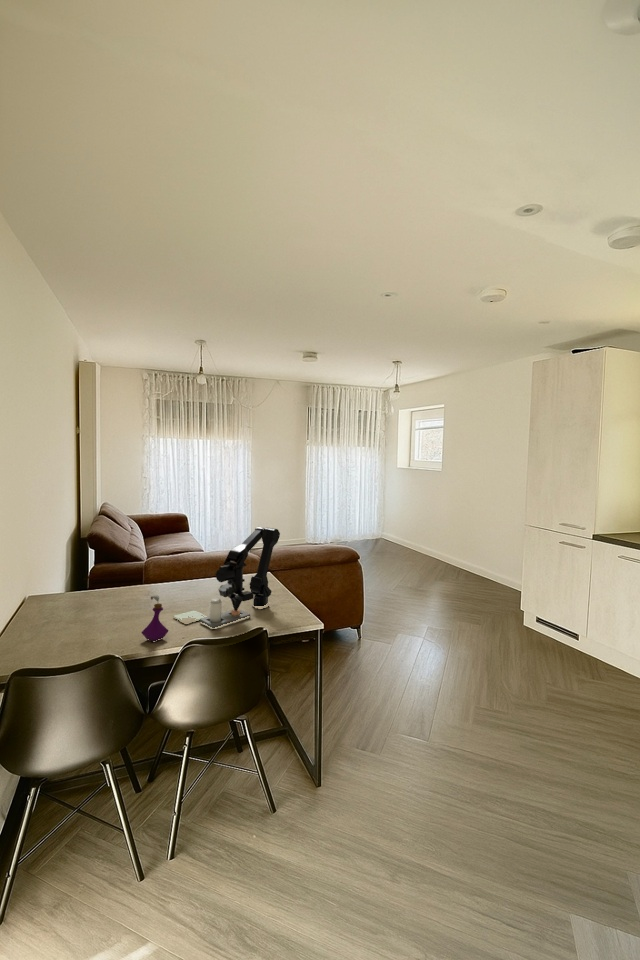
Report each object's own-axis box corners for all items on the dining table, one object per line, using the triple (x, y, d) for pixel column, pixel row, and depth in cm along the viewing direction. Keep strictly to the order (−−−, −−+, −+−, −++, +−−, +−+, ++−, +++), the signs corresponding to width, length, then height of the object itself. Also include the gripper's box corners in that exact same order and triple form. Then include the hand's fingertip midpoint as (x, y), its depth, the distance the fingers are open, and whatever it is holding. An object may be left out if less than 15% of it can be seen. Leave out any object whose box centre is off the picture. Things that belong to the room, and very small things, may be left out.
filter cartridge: (216, 621, 202) (217, 597, 201) (223, 624, 198) (223, 600, 197) (207, 624, 198) (207, 600, 197) (213, 627, 195) (214, 603, 194)
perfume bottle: (168, 638, 182) (169, 595, 181) (153, 645, 176) (154, 600, 174) (156, 634, 186) (156, 591, 184) (141, 640, 179) (141, 596, 178)
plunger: (236, 614, 209) (236, 608, 209) (241, 617, 206) (241, 610, 206) (229, 616, 206) (229, 610, 206) (234, 619, 203) (234, 612, 203)
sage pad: (194, 612, 211) (194, 610, 211) (207, 618, 204) (207, 616, 204) (172, 618, 203) (172, 616, 203) (185, 625, 196) (185, 623, 196)
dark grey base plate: (236, 612, 213) (237, 608, 213) (250, 618, 206) (250, 614, 206) (200, 623, 198) (200, 619, 198) (213, 630, 191) (213, 625, 191)
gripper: (209, 576, 205) (209, 609, 206) (234, 585, 193) (233, 620, 194) (229, 571, 213) (229, 603, 214) (254, 580, 201) (254, 614, 202)
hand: (235, 610), depth 206 cm, fingers closed, pressing on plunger
